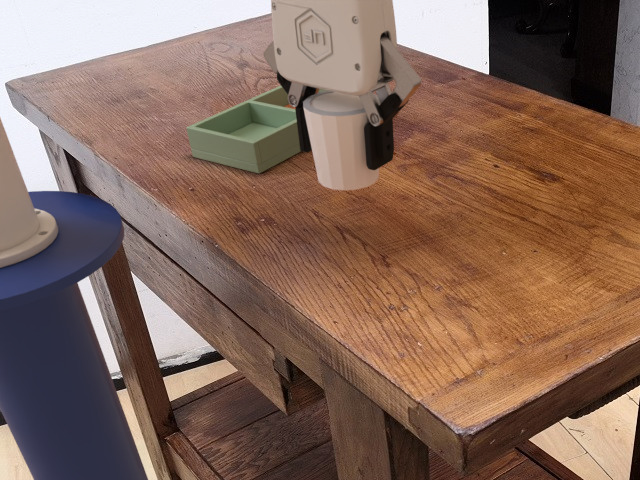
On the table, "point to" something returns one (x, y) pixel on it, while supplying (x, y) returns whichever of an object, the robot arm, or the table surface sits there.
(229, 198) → the table surface
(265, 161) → the tray
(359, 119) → the white tapered cup
